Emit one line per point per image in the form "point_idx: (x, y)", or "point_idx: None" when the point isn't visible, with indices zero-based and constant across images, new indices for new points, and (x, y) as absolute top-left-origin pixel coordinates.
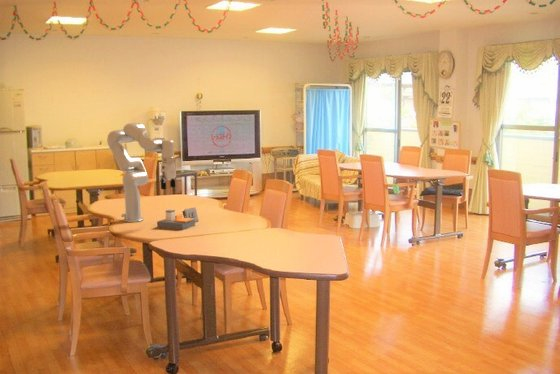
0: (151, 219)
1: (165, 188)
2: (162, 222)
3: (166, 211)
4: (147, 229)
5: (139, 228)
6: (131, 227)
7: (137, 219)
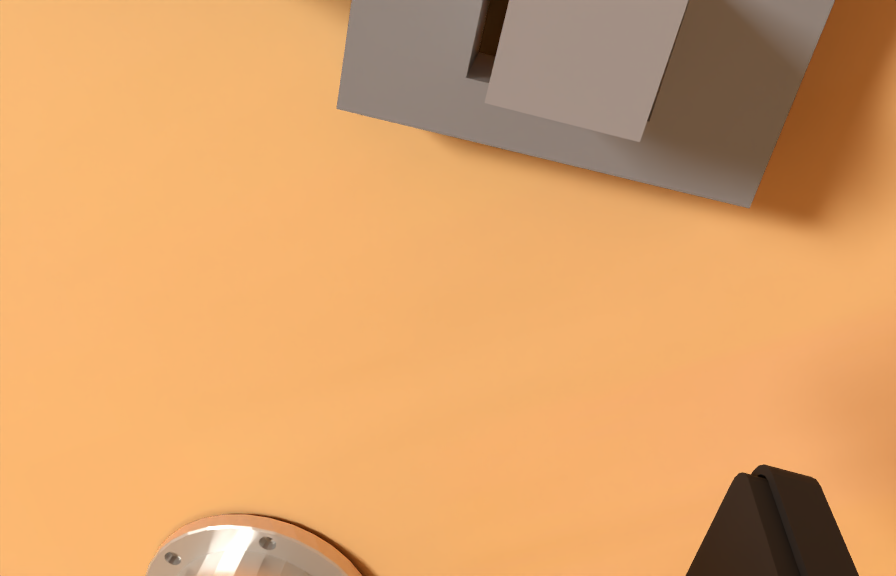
0: (130, 443)
1: (822, 494)
2: (794, 89)
3: (644, 114)
4: (855, 272)
5: (770, 400)
6: (698, 508)
7: (296, 567)
